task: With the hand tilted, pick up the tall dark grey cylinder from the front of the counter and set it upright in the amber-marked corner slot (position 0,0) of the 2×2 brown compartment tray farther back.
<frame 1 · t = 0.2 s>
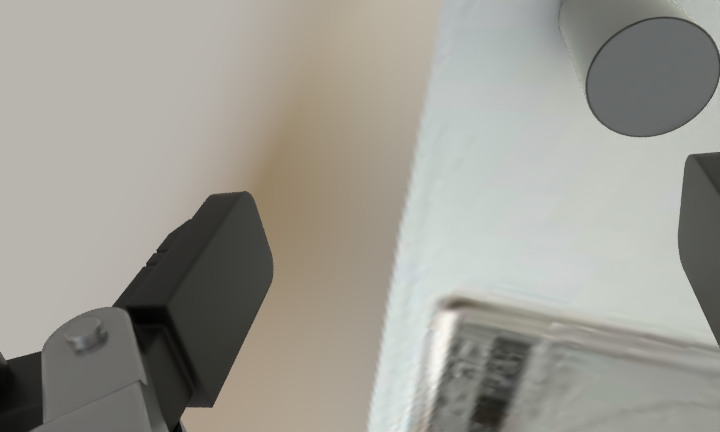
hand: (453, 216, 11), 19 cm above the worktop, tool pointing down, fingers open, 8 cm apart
dark grey cylinder: (605, 13, 27), on the worktop
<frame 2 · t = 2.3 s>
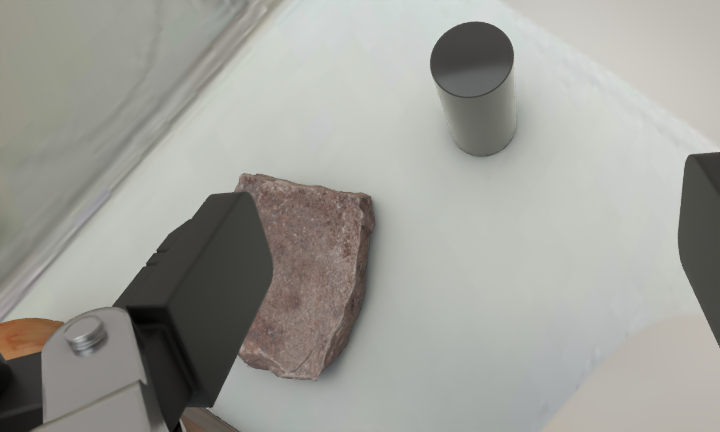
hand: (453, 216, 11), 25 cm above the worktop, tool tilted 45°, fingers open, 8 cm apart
stone: (305, 275, 38), on the worktop
onion: (87, 394, 40), on the worktop
dark grey cylinder: (482, 126, 37), on the worktop
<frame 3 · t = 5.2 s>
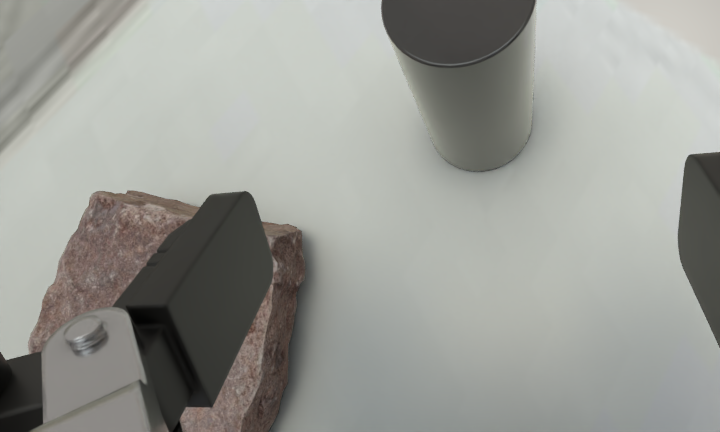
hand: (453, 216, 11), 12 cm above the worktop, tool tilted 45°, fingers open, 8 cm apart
stone: (201, 348, 25), on the worktop
dark grey cylinder: (479, 124, 24), on the worktop
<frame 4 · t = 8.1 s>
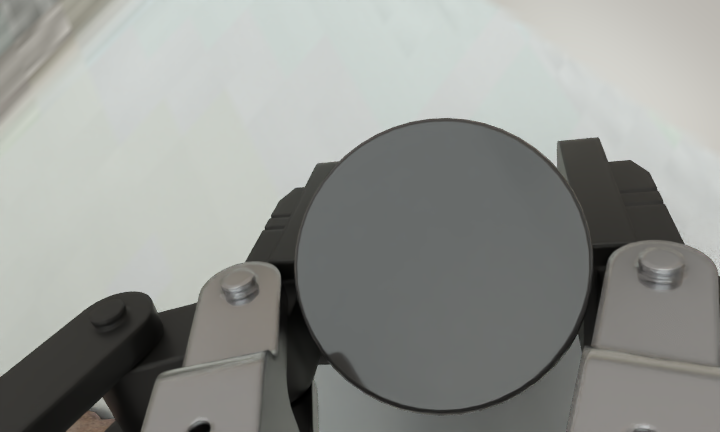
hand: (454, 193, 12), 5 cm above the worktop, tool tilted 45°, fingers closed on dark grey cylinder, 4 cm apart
dark grey cylinder: (478, 309, 16), on the worktop, touching gripper
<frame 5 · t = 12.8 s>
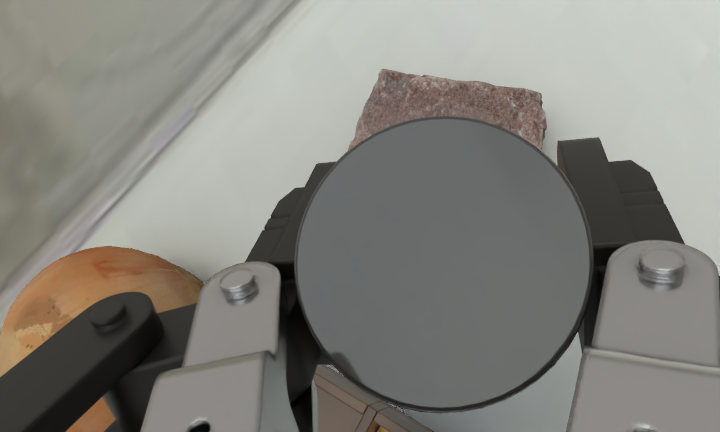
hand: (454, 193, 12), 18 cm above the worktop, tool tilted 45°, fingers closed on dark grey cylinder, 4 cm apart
stone: (447, 202, 31), on the worktop
onion: (173, 349, 33), on the worktop
dark grey cylinder: (478, 308, 16), point 13 cm above the worktop, touching gripper
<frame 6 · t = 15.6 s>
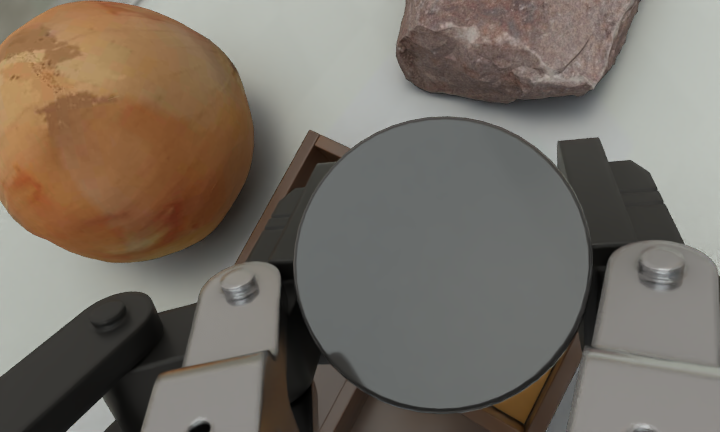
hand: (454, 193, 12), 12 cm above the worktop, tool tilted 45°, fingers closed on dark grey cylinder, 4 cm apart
onion: (192, 174, 28), on the worktop
dark grey cylinder: (477, 308, 16), point 7 cm above the worktop, touching gripper
brown compartment tray: (387, 351, 23), on the worktop
when the fingers open (6 cm above the worktop, at t = 17.7 s): dark grey cylinder stays where it is, resting on brown compartment tray.
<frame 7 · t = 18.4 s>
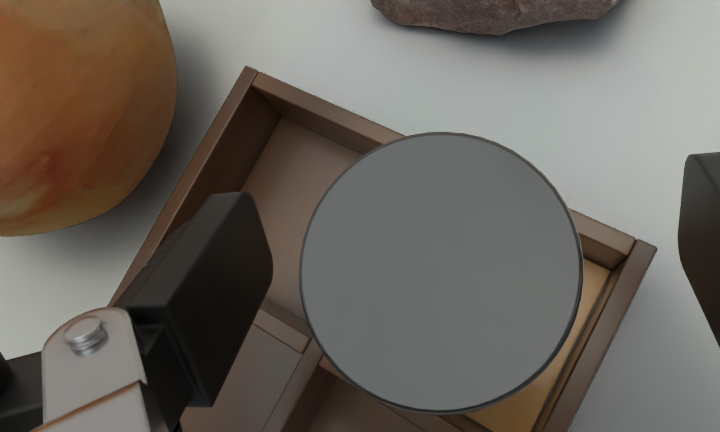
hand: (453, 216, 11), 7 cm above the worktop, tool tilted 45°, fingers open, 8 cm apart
onion: (113, 133, 22), on the worktop
dark grey cylinder: (476, 312, 17), point 1 cm above the worktop, touching brown compartment tray
brown compartment tray: (346, 352, 18), on the worktop
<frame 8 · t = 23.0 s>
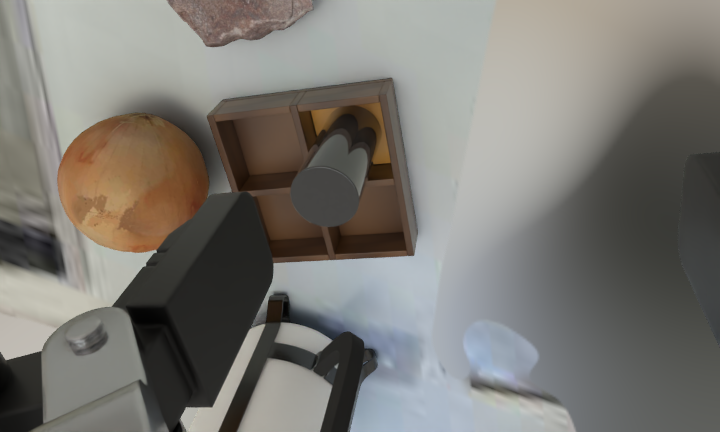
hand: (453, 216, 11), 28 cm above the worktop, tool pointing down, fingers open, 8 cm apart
coffee press: (303, 343, 54), on the worktop
onion: (168, 152, 46), on the worktop
dark grey cylinder: (353, 132, 41), point 1 cm above the worktop, touching brown compartment tray
brown compartment tray: (323, 168, 44), on the worktop
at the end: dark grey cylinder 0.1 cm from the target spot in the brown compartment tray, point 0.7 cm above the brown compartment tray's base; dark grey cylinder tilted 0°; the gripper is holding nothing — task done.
